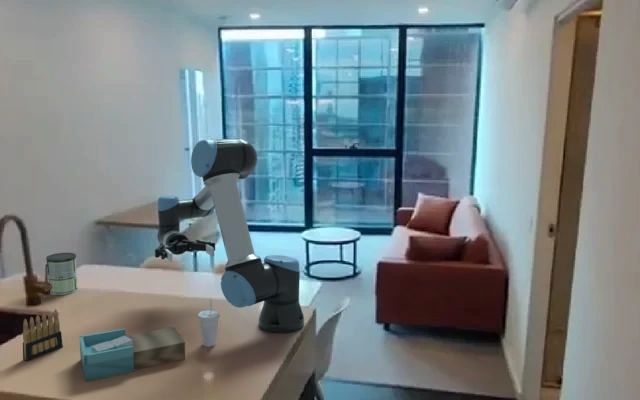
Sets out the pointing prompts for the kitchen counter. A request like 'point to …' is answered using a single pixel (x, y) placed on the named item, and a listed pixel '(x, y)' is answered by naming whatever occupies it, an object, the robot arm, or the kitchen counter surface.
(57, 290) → the coffee can
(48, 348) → the ammunition clip
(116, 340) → the chip
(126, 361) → the tray
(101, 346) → the chip
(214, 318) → the smoothie
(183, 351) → the olive-brown boxy piece
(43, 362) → the kitchen counter surface
